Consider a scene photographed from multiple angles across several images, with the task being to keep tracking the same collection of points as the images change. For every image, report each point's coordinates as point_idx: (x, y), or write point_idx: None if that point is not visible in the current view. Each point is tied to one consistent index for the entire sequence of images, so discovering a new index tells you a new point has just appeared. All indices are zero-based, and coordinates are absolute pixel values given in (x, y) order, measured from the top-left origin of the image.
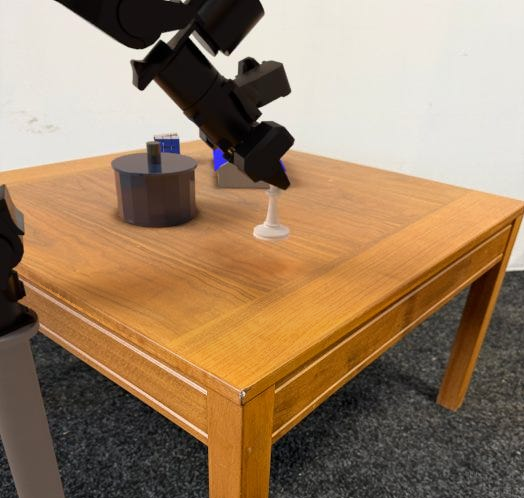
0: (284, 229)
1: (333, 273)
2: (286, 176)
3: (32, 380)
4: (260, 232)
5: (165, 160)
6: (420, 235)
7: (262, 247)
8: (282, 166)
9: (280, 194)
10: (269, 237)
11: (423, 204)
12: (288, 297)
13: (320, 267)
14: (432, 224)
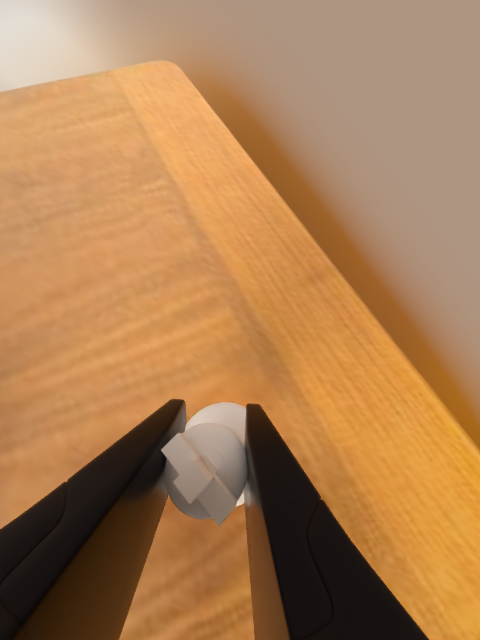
0: None
1: (285, 347)
2: (279, 435)
3: None
4: (239, 500)
5: None
6: (206, 178)
7: (133, 415)
8: (312, 484)
9: (242, 443)
10: None
11: (115, 125)
12: (358, 473)
13: (257, 355)
14: (180, 150)
